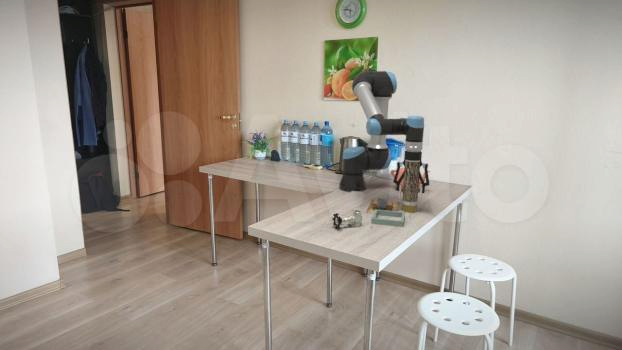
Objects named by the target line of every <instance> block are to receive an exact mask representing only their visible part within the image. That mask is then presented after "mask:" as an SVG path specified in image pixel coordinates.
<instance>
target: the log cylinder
mask: <svg viewBox="0 0 622 350" xmlns="http://www.w3.org/2000/svg"><path fill="white" fill-rule="evenodd" d="M403 168H404V171H405V174H404V184H403V191H402V200H401V201H402V203H401V212H405V213H410V214H413V213H416V212H418V211H417V210H418V209H417V208H418V200H419V189H418V187H419V172H420V173H421V167H420V160H417V161H414V160H407V159H406V160H405V166H404V167H403ZM419 188H420V187H419Z"/></svg>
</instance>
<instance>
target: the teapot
mask: <svg viewBox="0 0 622 350" xmlns="http://www.w3.org/2000/svg"><path fill="white" fill-rule="evenodd" d="M404 168H405V167H402V168H401V167H400V170H399V173H398V177H397V181H398V180H399V179H400V177H401V175H402V174H403V172H404ZM396 170H397V169H391V170H390V174H391V176H392V178H394V177H395V174H396ZM430 172H431V170H428V173H430ZM422 178H423V180H424V182H426V177H425V171H424V172H423V174H422ZM400 184H402V186H401V192H403V184H404V178H403V179H402V181H401V183H400ZM421 185H422V184H421V181H420V179H419V187H418V190H419V188H421ZM394 187H395V188H396V189H397V184H396V183H394Z"/></svg>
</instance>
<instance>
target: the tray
mask: <svg viewBox="0 0 622 350" xmlns="http://www.w3.org/2000/svg"><path fill="white" fill-rule="evenodd" d="M378 216H381V217H382V216H384V217H393V218H400V220H397V219H387V218H379V217H378ZM405 216H406V212H404V211H398V212H397V211H386V210H376V209H375V212H374V214H372V216H371V220H370V222H371V225H372V224H373V225H383V226H389V227H390V226H392V227H401V228H402V227H404V222H405V218H406V217H405ZM377 217H378V218H377Z"/></svg>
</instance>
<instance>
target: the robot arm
mask: <svg viewBox="0 0 622 350" xmlns="http://www.w3.org/2000/svg"><path fill="white" fill-rule="evenodd" d="M397 87H398V82H397V77H396V75H395V73H393V72H392V71H387V70H383V71H382V70H380V71H379V70H377V71H375V70H364V71H362V72H359V73H358V74H357V75H356V76H355V77H354V78H353V81H352V83H351V89H352V91H351V92H352V93H353V95H354V97H356V98H357V100H358V101H359V103H360V106H361V108H362V111H363V112H364V115H365V117H366V119H367V121H366V124H365V125H366V126H365V130H366V132H367V134H368V135H369V136H370V141H369V142H370V143H368V144H367V145H366V149H365V147H364V146H352V147H347V148H345V149H344V151H343V155H342V175H341V179H340V182H339V187H338V188H339V189H340V190H342V191H345V192H364V191H365V190H366V189H367V183H366V181H365V177H364V172H365V171H373V170H374V171H381V170H386V169H388V168H389V167H390V164H391V162H392V152H391V150H390V148H389V146H388V145H387V143H386V142H387V136H405V143H404V150H405V151H404V159H403V161H397V162H396V166H397V168H396V169H395V170H396V172H395V173H394V174H395V177H393V180H392V181H393V182H392V183H393V184H395V183H396V184H397V188H396V191H397V192H398V199H399V200H400V199H401V197H402V191H401V186H402V184H400V183H401V181H402V179H403V178H404V174H405V171H404V172H403V174H402V175H401V177H400V179H399V180H398V181H397V177H398V173H399V170H400V169H401V167H403V166H404V167H405V160H406V159H407V160H414V161H417V160H420V168H421V167H422V168H423V169H424V172H425V177H426V178H425V181H424V180H423V178H422V177H423V174H422V173H421V171H420V172H419V179H420V181H421V185H420V187H419V188H420V190H419V192H420V193H419V201H421V202H422V197H423V196H422V194H425V190H426V187H427V186H430V178H429V172H428V171H429V170H428V167H429V164H428V162H427V163H425V162H424V163H423V162H422V157H423V156H422V155H423V152H422V151H423V145H424V144H423V141H424V131H425V130H424V129H425V118H424V116H421V115H420V116H419V115H409V116H408V117H407V118H404V117H399V118H388V117H389V116H388V115H389V114H388V113H389V104H390V103H389V101H390V100H391V99H392V97H393V95H394V94H395V93H396V92H397V89H398V88H397Z"/></svg>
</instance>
